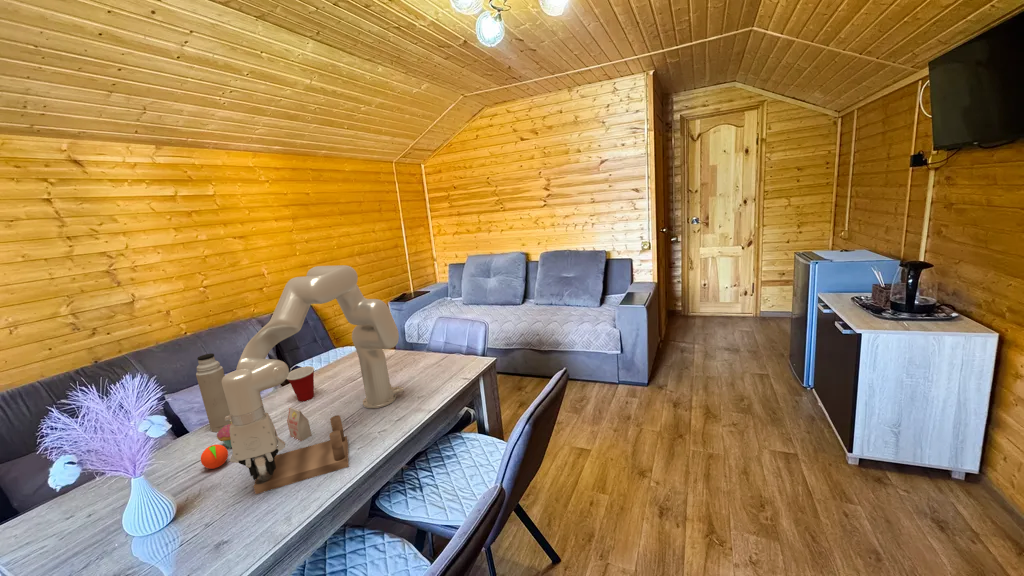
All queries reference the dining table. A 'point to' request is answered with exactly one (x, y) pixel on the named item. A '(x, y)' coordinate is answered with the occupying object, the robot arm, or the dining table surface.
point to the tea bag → (298, 425)
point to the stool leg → (262, 467)
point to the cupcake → (225, 435)
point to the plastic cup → (302, 382)
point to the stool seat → (309, 460)
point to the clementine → (214, 456)
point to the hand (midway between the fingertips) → (264, 473)
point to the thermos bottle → (212, 391)
